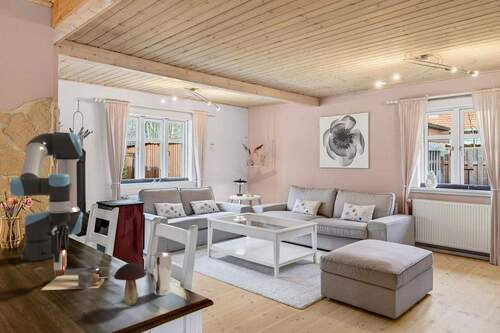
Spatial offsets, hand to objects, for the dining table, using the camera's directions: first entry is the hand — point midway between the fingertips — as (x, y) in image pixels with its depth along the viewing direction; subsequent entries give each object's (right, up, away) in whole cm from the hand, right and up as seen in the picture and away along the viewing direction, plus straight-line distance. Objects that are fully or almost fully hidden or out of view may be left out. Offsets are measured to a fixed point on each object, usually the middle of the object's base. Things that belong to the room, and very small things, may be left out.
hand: (60, 267), depth 142 cm
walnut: (+15, -5, -3) cm, 16 cm away
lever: (+9, -4, +1) cm, 10 cm away
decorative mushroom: (+36, -8, -20) cm, 42 cm away
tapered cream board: (+7, -7, +1) cm, 10 cm away
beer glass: (+44, -7, -9) cm, 46 cm away
